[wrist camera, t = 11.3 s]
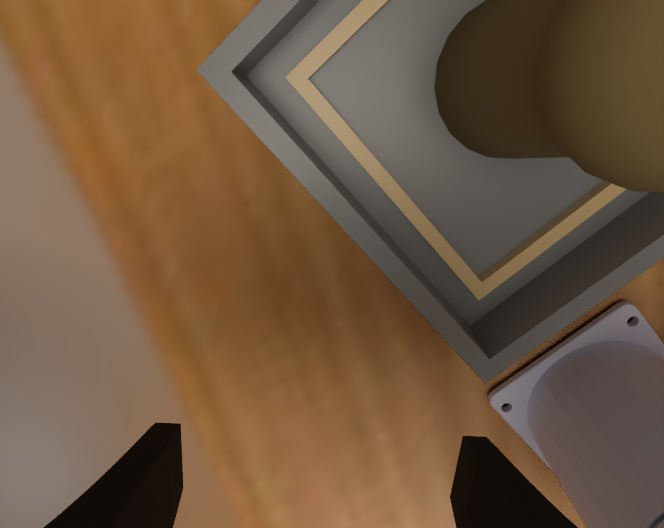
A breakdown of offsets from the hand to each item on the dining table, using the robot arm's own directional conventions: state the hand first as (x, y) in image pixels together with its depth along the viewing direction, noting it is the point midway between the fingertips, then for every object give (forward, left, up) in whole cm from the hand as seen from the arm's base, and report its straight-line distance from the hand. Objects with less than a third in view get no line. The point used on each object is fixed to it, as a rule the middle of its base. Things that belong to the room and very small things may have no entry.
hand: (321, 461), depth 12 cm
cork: (+2, -12, -10) cm, 16 cm away
